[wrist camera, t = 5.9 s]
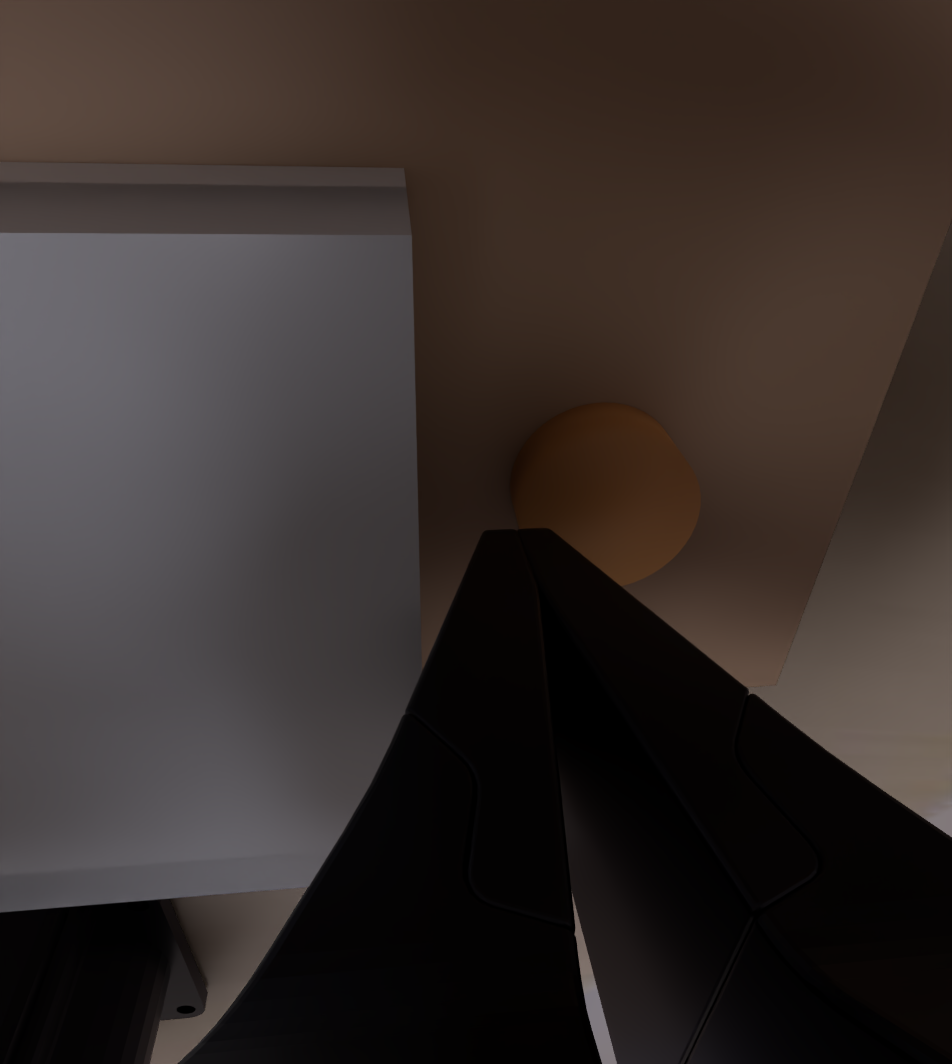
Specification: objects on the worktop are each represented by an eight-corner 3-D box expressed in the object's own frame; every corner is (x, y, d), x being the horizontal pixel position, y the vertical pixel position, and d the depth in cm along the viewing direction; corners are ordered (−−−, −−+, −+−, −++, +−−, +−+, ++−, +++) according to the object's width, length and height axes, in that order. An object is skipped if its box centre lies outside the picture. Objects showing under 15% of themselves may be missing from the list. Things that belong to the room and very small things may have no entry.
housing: (418, 695, 12) (426, 876, 9) (-22, 720, 11) (-146, 923, 9) (403, 168, 7) (411, 235, 5) (-331, 156, 7) (-780, 228, 4)
